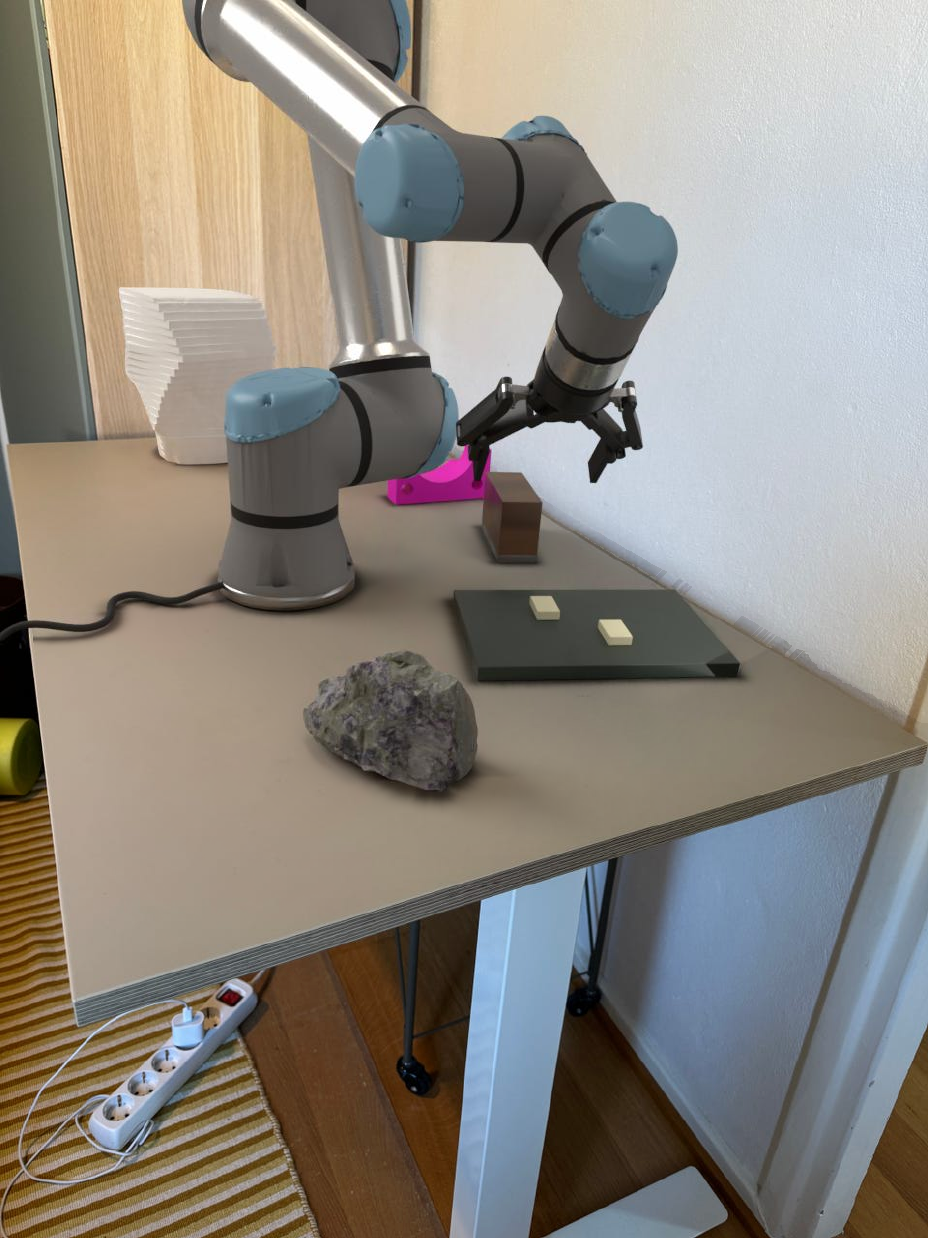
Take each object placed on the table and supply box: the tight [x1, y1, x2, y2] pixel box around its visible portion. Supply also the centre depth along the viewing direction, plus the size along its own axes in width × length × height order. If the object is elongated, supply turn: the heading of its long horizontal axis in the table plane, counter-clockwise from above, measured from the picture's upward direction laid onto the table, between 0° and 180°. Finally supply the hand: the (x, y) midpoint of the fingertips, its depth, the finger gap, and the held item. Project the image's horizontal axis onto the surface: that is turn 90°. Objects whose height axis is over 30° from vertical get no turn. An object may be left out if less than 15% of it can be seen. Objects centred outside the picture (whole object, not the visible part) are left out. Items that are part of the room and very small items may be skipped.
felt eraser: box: [481, 471, 543, 564], centre depth 114 cm, size 13×5×8 cm, turn 8°
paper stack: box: [118, 286, 277, 466], centre depth 141 cm, size 21×27×26 cm
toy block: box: [387, 445, 492, 506], centre depth 132 cm, size 15×6×8 cm, turn 114°
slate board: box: [452, 588, 741, 682], centre depth 91 cm, size 18×26×2 cm
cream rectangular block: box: [529, 596, 560, 620], centre depth 93 cm, size 4×2×1 cm, turn 8°
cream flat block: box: [598, 620, 633, 645], centre depth 89 cm, size 4×2×1 cm, turn 8°
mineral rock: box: [302, 649, 479, 793], centre depth 68 cm, size 13×11×10 cm
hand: (534, 471), depth 100 cm, fingers open, 13 cm apart
